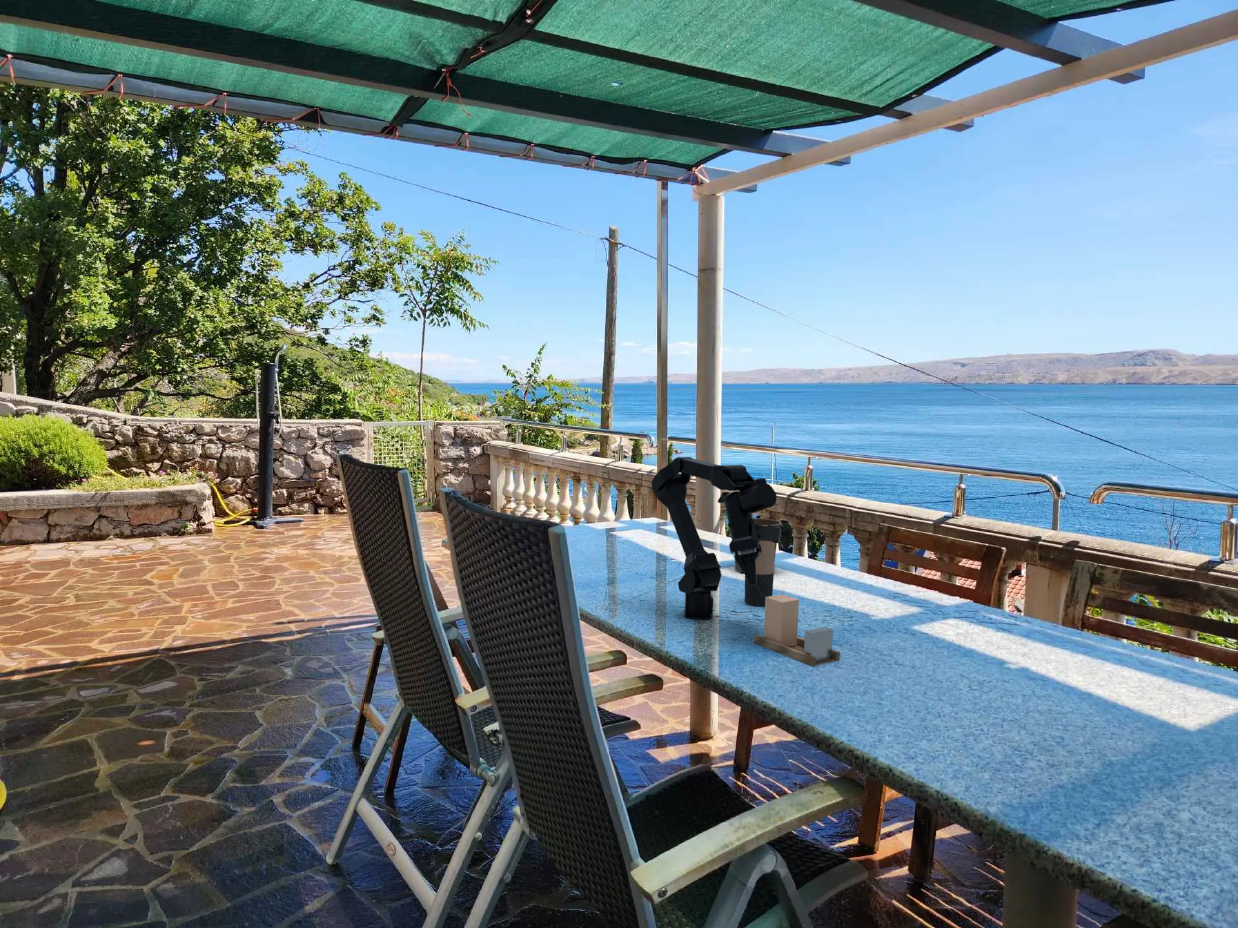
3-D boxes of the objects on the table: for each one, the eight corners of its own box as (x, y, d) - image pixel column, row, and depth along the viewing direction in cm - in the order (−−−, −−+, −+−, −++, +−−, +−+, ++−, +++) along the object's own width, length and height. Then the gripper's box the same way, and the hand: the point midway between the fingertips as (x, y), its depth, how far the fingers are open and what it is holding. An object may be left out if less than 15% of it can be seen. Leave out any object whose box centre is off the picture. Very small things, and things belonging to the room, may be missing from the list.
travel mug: (764, 608, 197) (767, 532, 195) (738, 603, 201) (741, 529, 200) (777, 602, 203) (780, 529, 201) (751, 597, 207) (754, 525, 206)
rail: (753, 645, 166) (754, 635, 165) (780, 640, 170) (780, 630, 170) (811, 669, 151) (812, 658, 151) (839, 663, 155) (839, 651, 155)
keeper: (763, 641, 165) (765, 596, 164) (780, 638, 168) (782, 594, 167) (780, 648, 161) (781, 602, 160) (797, 644, 163) (798, 599, 163)
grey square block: (803, 664, 154) (805, 630, 154) (824, 659, 158) (825, 626, 157) (810, 667, 153) (812, 633, 152) (831, 662, 156) (833, 629, 155)
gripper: (773, 505, 164) (789, 576, 160) (776, 515, 182) (790, 579, 178) (722, 515, 166) (737, 586, 163) (730, 524, 184) (743, 588, 180)
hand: (754, 584), depth 171 cm, fingers closed
